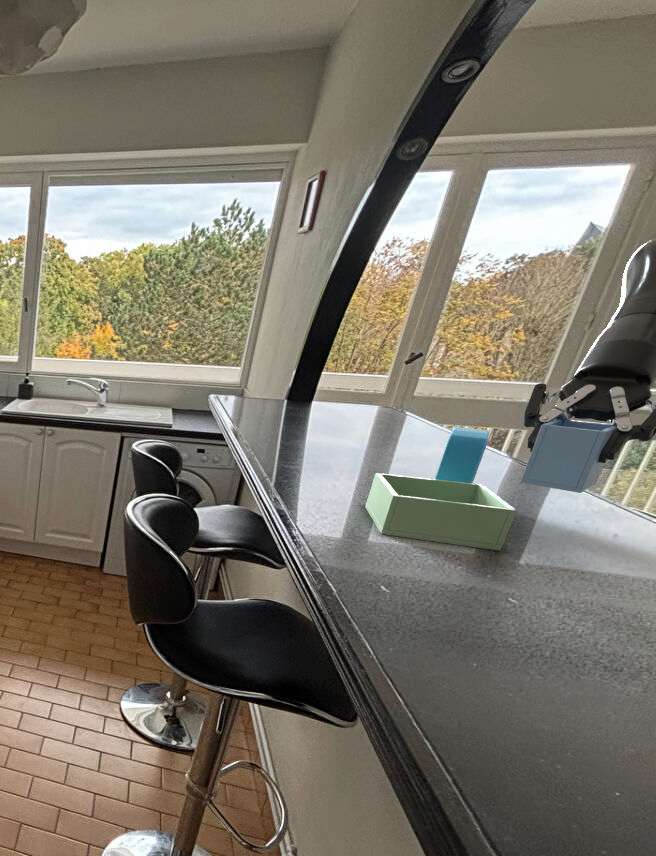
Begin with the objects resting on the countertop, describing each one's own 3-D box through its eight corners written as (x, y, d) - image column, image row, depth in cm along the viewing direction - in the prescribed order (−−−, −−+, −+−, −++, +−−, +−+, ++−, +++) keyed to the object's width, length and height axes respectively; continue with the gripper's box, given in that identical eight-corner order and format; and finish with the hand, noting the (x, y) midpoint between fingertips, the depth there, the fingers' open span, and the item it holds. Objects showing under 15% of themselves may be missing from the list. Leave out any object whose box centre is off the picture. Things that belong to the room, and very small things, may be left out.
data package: (430, 493, 103) (454, 425, 99) (463, 499, 100) (489, 429, 96) (424, 509, 95) (449, 435, 90) (460, 516, 92) (488, 440, 88)
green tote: (469, 520, 90) (482, 484, 88) (500, 551, 79) (517, 510, 77) (365, 507, 96) (375, 472, 93) (380, 534, 84) (393, 495, 82)
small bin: (596, 483, 81) (621, 425, 78) (580, 493, 76) (606, 431, 73) (537, 474, 85) (559, 418, 82) (519, 482, 81) (542, 424, 78)
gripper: (556, 335, 83) (497, 427, 81) (716, 340, 72) (652, 447, 70) (552, 371, 88) (497, 460, 86) (702, 381, 77) (642, 483, 75)
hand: (567, 453), depth 78 cm, fingers closed on small bin, 6 cm apart
